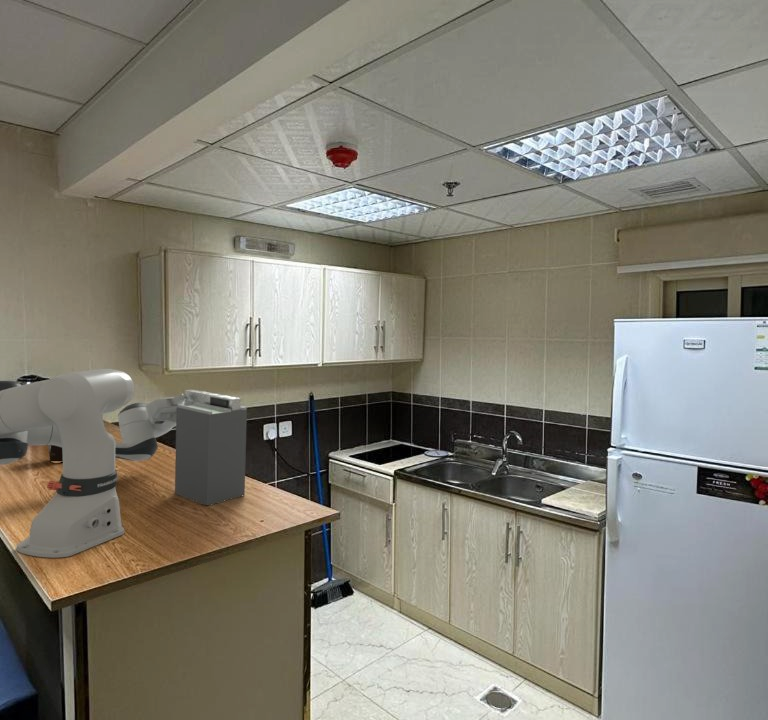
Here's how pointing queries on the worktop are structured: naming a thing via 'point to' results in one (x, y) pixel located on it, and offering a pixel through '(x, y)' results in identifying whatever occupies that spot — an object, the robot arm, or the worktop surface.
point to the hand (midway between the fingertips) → (194, 394)
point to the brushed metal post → (213, 399)
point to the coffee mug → (55, 453)
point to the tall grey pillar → (210, 452)
